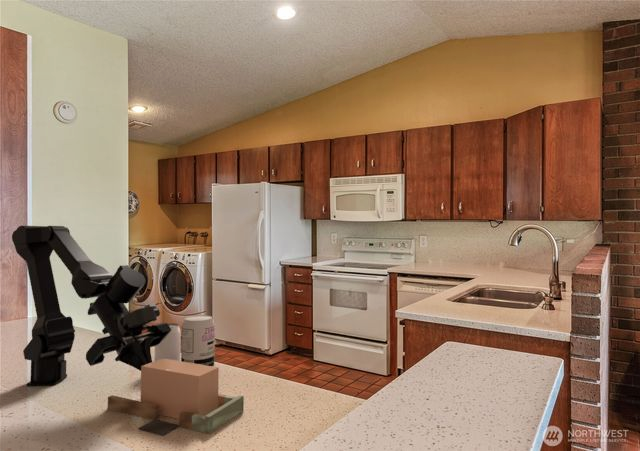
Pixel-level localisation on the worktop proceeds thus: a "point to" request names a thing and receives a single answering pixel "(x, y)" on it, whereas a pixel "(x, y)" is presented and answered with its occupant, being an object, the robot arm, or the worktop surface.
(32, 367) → the robot arm
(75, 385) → the worktop surface
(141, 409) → the lane
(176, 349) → the can
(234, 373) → the worktop surface
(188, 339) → the supplement can
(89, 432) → the worktop surface
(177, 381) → the brick
